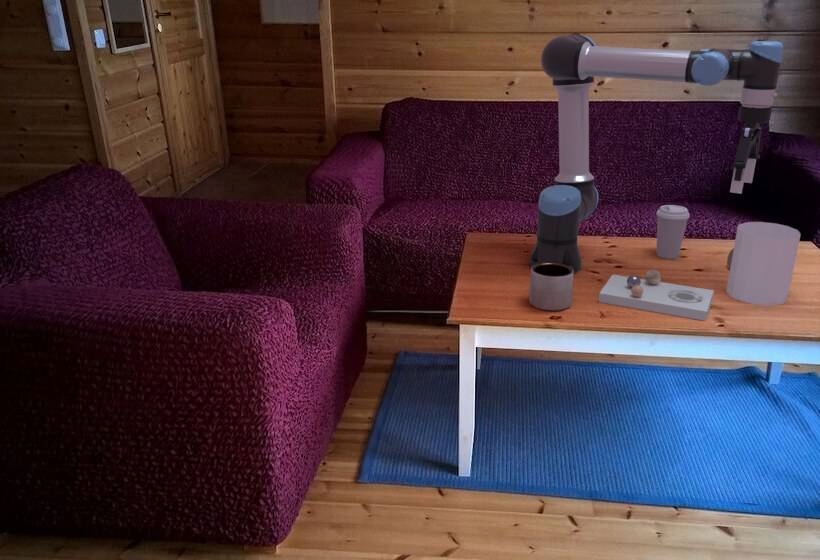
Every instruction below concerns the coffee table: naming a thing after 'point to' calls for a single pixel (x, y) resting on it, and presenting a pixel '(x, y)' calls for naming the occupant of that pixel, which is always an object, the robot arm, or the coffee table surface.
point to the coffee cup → (670, 230)
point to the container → (762, 263)
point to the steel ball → (633, 281)
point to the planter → (551, 286)
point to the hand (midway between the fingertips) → (741, 187)
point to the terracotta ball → (637, 291)
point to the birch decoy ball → (653, 276)
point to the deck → (659, 298)
